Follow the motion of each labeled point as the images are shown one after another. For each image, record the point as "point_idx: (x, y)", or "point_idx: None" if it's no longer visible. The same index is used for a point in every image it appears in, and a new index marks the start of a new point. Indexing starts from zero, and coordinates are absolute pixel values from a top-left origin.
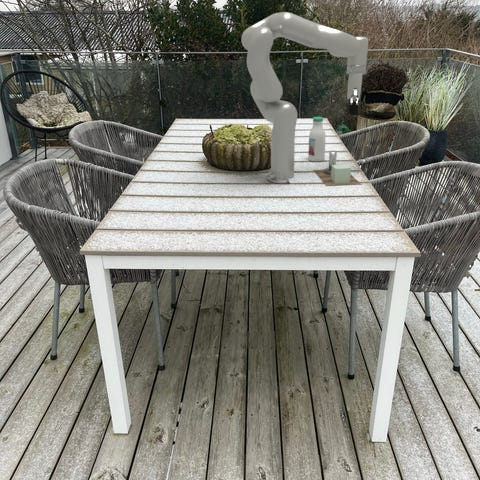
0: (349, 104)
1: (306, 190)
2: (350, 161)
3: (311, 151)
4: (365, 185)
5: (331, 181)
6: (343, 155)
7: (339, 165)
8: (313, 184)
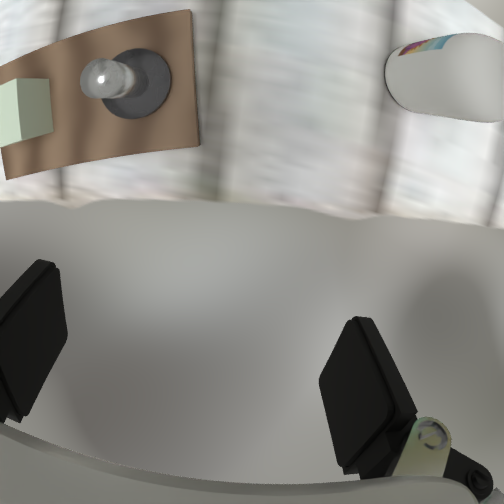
0: (387, 379)
1: (7, 15)
2: (364, 209)
3: (414, 43)
4: (36, 193)
5: None
6: (449, 208)
7: (8, 110)
8: (51, 23)
